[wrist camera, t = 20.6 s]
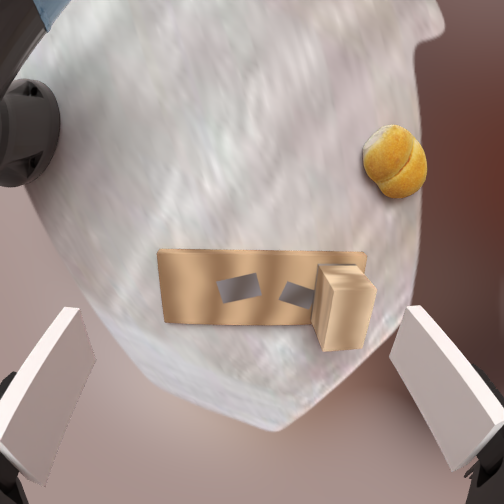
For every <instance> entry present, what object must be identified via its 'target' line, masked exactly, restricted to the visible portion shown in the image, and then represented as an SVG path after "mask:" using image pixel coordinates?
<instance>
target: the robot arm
mask: <svg viewBox="0 0 504 504" xmlns="http://www.w3.org/2000/svg"><path fill="white" fill-rule="evenodd" d="M70 1H71V0H0V186H4V187H17V186H21V185H24V184H27V183H29V182H31V181H33V180H35V179H36V178H37V177H38V176H40V175H41V173H42V172H43V171H44V170H45V169H46V167H47V166H48V164H49V162H50V160H51V158H52V156H53V154H54V151H55V148H56V145H57V141H58V136H59V127H60V118H59V109H58V105H57V102H56V99H55V97H54V95H53V93H52V91H51V90H50V89H49V88H48V87H47V86H46V85H45V84H44V83H42V82H40V81H36V80H31V79H18V80H14V78H15V76H16V75H17V73H18V72H19V70H20V69H21V67H22V66H23V64H24V63H25V61H26V60H27V58H28V57H29V55H30V54H31V52H32V51H33V50H34V48H35V47H36V46H37V44H38V43H39V42H40V40H41V39H42V38H43V36H44V35H45V34H46V33H48V32H49V31H50V29H51V26H52V24H53V23H54V22H55V20H56V19H57V17H58V16H59V15H60V14H61V12H62V11H63V10H64V9H65V8H66V6H67V5H68V4H69V3H70ZM13 80H14V81H13ZM389 358H390V359H391V361H392V362H393V364H394V366H395V368H396V369H397V371H398V373H399V375H400V376H401V378H402V380H403V381H404V383H405V385H406V387H407V388H408V390H409V392H410V393H411V395H412V397H413V399H414V401H415V402H416V404H417V406H418V408H419V410H420V412H421V413H422V415H423V417H424V419H425V420H426V423H427V424H428V426H429V428H430V430H431V432H432V434H433V436H434V438H435V439H436V441H437V443H438V445H439V447H440V449H441V451H442V453H443V455H444V457H445V459H446V461H447V463H448V465H449V467H450V469H451V471H452V472H453V471H456V470H458V469H459V468H462V467H464V466H465V465H467V464H468V463H469V462H470V461H471V460H472V459H473V458H474V457H475V456H477V458H478V459H479V460H478V461H477V462H476V463H475V464H474V465H473V466H472V467H471V468H470V469H469V470H468V471H467V472H466V473H465V475H464V477H465V478H466V477H467V476H468V475H469V474H470V473H472V472H473V474H472V475H471V476H470V478H469V479H472V480H471V485H470V489H469V493H468V497H467V500H466V504H504V397H503V396H502V394H501V393H500V392H499V390H498V389H496V387H495V386H494V384H493V383H492V382H490V379H489V378H488V376H487V375H486V374H485V373H484V371H483V370H481V369H480V368H478V367H477V366H476V365H474V364H470V363H469V362H468V361H467V359H466V358H465V357H464V356H463V354H462V353H461V352H460V351H459V349H458V348H457V347H456V346H455V345H454V343H453V342H452V341H451V340H450V339H449V338H448V336H447V335H446V334H445V333H444V332H443V331H442V329H441V328H440V327H439V326H438V325H437V324H436V322H435V321H434V320H433V319H432V318H431V317H430V316H429V315H428V313H427V312H426V311H425V310H424V309H423V308H422V307H421V306H420V305H419V306H409V307H406V309H405V312H404V315H403V318H402V322H401V325H400V328H399V331H398V333H397V336H396V339H395V342H394V345H393V348H392V350H391V353H390V356H389ZM95 362H96V358H95V355H94V352H93V349H92V346H91V344H90V340H89V337H88V334H87V331H86V328H85V324H84V321H83V318H82V315H81V311H80V308H72V307H64V308H63V310H62V311H61V312H60V313H59V315H58V316H57V317H56V319H55V320H54V321H53V323H52V324H51V325H50V327H49V328H48V329H47V331H46V332H45V333H44V335H43V336H42V338H41V339H40V340H39V342H38V343H37V345H36V346H35V348H34V349H33V350H32V352H31V353H30V355H29V356H28V358H27V359H26V361H25V362H24V363H23V365H22V366H21V368H20V370H19V371H18V373H16V372H12V373H11V374H10V375H8V376H7V377H6V378H5V379H4V380H3V381H2V382H1V384H0V504H29V503H28V500H27V498H26V495H25V492H24V490H23V487H22V484H21V482H20V480H19V478H18V477H17V476H18V473H19V472H20V473H21V474H22V475H23V476H25V477H26V478H27V479H28V480H30V481H32V482H35V483H37V484H39V485H42V486H44V487H45V486H46V483H47V480H48V477H49V474H50V471H51V468H52V466H53V463H54V460H55V457H56V454H57V452H58V449H59V446H60V444H61V441H62V439H63V436H64V433H65V431H66V428H67V426H68V423H69V421H70V418H71V416H72V413H73V411H74V409H75V406H76V404H77V402H78V399H79V397H80V395H81V392H82V390H83V388H84V386H85V383H86V381H87V379H88V377H89V375H90V373H91V370H92V368H93V366H94V364H95Z"/></svg>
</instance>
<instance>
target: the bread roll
mask: <svg viewBox="0 0 504 504" xmlns="http://www.w3.org/2000/svg"><path fill="white" fill-rule="evenodd" d="M363 164H364V168H365V170H366V173H367V175H368V176H369V177H370V178H371V179H372V180H373V181H374V182H375V183H376V184H377V185H378V186H379V188H380V190H381V191H382V193H383V194H385V195H386V196H388V197H390V198H405V197H407V196H410V195H412V194H414V193H415V192H417V191H418V190H419V189H420V188H421V186H422V185H423V183H424V181H425V178H426V174H427V162H426V157H425V153H424V150H423V149H422V147H421V145H420V144H419V142H418V141H417V140H416V139H415V138H414V137H413V135H412V134H411V133H410V132H409V131H408V130H406V129H404V128H402V127H400V126H398V125H388V126H383V127H381V128H380V129H379V130H378V131H377V132H375V133H374V134H373V135H372V136H371V137H370V139H369V140H368V141H367V142H366V144H365V145H364V147H363Z"/></svg>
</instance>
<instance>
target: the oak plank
mask: <svg viewBox="0 0 504 504" xmlns="http://www.w3.org/2000/svg"><path fill="white" fill-rule="evenodd" d="M157 261H158V271H159V281H160V289H161V298H162V306H163V314H164V321H165V323H185V324H213V325H305V324H312V322H311V319H310V318H311V311H312V304H313V297H314V289H315V282H316V274H317V266H318V264H356V265H357V266H358V268H359V269H360V270H361V271H362V272H363V273H364V272H365V266H366V261H367V255H366V254H365V253H364V252H337V251H274V250H208V249H159V251H158V252H157Z"/></svg>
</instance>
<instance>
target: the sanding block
mask: <svg viewBox="0 0 504 504" xmlns="http://www.w3.org/2000/svg"><path fill="white" fill-rule="evenodd" d="M376 293H377V289H376V288H375V286H374V285H373V284H372V283H371V282H370V280H369V279H368V278H367V277H366V276H365V275H364V273H363V272H362V271H361V270H360V269H359V268H358V266H357V265H356V264H318V266H317V274H316V282H315V289H314V297H313V304H312V311H311V318H310V319H311V322H312V324H313V327H314V330H315V332H316V335H317V338H318V340H319V343H320V346H321V348H322V351H323V352H325V351H339V350H351V349H361V348H362V347H363V344H364V340H365V336H366V333H367V329H368V325H369V321H370V318H371V314H372V310H373V305H374V301H375V297H376Z"/></svg>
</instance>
